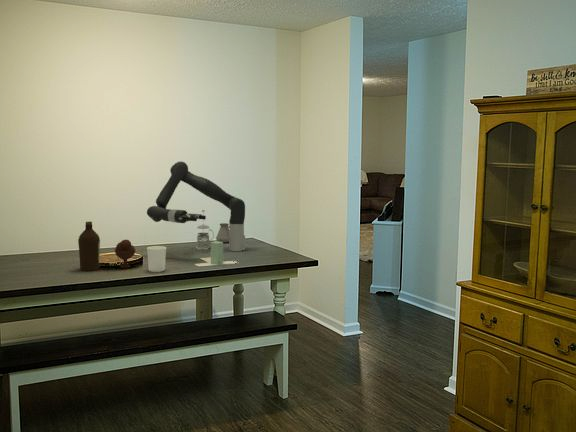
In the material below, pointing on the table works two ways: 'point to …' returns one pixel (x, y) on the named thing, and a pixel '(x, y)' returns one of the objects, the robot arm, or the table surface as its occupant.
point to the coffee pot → (223, 233)
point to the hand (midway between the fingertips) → (201, 218)
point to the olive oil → (89, 249)
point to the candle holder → (156, 258)
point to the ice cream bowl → (125, 252)
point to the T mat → (213, 264)
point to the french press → (203, 237)
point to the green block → (216, 253)
